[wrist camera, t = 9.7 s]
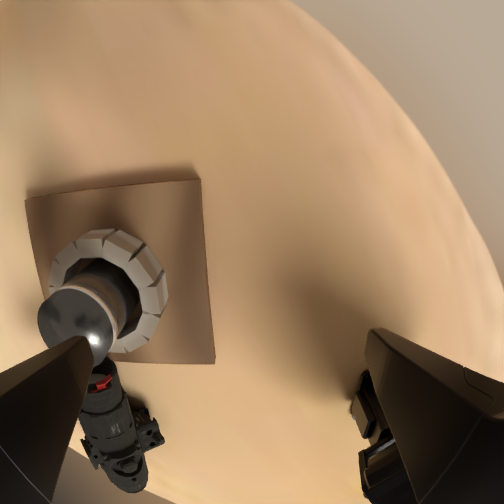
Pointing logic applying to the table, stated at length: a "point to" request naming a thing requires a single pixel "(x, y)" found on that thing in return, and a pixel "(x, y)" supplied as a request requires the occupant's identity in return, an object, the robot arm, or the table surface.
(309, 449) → the table surface
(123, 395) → the night vision scope
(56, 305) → the lens
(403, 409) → the robot arm
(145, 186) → the mount plate
